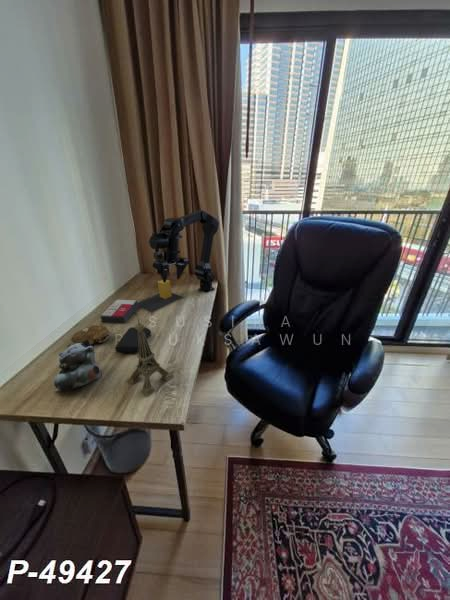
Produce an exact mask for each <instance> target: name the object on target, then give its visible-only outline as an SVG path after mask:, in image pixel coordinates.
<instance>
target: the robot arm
mask: <svg viewBox="0 0 450 600" xmlns="http://www.w3.org/2000/svg"><path fill="white" fill-rule="evenodd" d="M196 222H199V223H200V224H201V230H202V232H203V238H202V246H201V251H200V260H199V262H198V263H197V264H195V266H194V276H195V277H196V279H197V280H198V281H199V288H198V291H201V292H204V293H209V292H211V291H214V290H215V288H214V287H213V282H214V281H215V278H216V276H215V275H214V274H212V267H211V264H210V260H211V254H212V249H213V242H214V236H215V235H216V234H217V233H218V229H219V226H220V221H219V219H218V218H217V217H214V216H212V215H211V214H209V213H208V212H207V211H205V210H202V209H197V210H195V211H192V212H190V213H188V214H185V215H183V216H180V217H168V218H165V219H164V220H163V224H162V225H161V227H160V229H159V231H158V232H152V233H151V235H150V237H149V240H148V244H149V246H150V248H151V249H152V250H161V249H163V251H162V252H160V251H155V252H153V259H154V261H153V262H152V268H154V269H155V270H157V272H159V274H160V276H161V280H163V282H164V283H166V280H168V274H169V266H175V267H176V279H177V280H180V278H181V276H182V274H183V273H184V271H185V269H186V268H187V267H188V265H190V260H189V258H188V257H183V256H179V254H180V253H181V250H179V239H181V238H183V236H182V234H181V232H182V231H183V230H184V229H185V228H186V227H187V226H189V225H192V224H195V223H196Z"/></svg>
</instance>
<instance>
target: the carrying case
mask: <svg viewBox="0 0 450 600" xmlns="http://www.w3.org/2000/svg"><path fill="white" fill-rule="evenodd" d="M135 327H136V326H135ZM135 327H129V328H128V329H127V330H126V332H125V333H124V335H123V336H122V337H121V338H120V340H119V341H118V342H117V343H116V345H115V347H114V350H115V351H116V352H118V353H129V354H130V353H131V354H135V353H139V343H138V330H137V329H135ZM143 331H144V333H145V336H146V339H147V340H148V338H149V337H152V330H151V329H150V328H148V327H145V328H143Z"/></svg>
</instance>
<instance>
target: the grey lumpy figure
mask: <svg viewBox="0 0 450 600" xmlns="http://www.w3.org/2000/svg"><path fill="white" fill-rule="evenodd" d="M95 354H96V352H95V347H94V346H93V345H91V344H90V343H89V341H88V340H85V341H84V342H83V343H69V344H68V345H67V347H66V348H65V349H64V350H61V351H60V353H58V356H59V358H58V368H59V369H60V370H59V372H58V374H57V375H56V376H55V378H54V380H53V386H54V387H55V390H54V391H53V393H59V392H62V391H68V390H74V389H76V388H79V387H83V386H86V385H87V384H89V383H91V382H93V381H96V380H98V379H100V378H102V376H103V374H102V372H101V369H100V367H99V366H98V364H97V362H96V355H95Z"/></svg>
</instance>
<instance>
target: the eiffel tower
mask: <svg viewBox="0 0 450 600" xmlns="http://www.w3.org/2000/svg"><path fill="white" fill-rule="evenodd" d="M136 317H137V324H135V325H134V326H135V329H137V330H138V343H139V351H138V354H136V355H137V356H136V358H137V359H138V363H137V365H135V366H136V369H135V370H134V371H133V372H132V374H131V375H130V377H129V378H128V379H127V382H129V383H130V384H132V385H133V384H135V383H136V382H138V381H139V380H140V376H141V375H142V376H143V377H144V378H145V379H144V383H143V386H142V389H141V393H142V394H143V395H144V396H145V397H148V396H150V395H151V394H152V393H154V392H155V390H154V388H153V387H152V382H151V379H150V378H151V376H152V375H153V374H154V373H156V372H157V373H159V374H160V375H161V378H162V379H163V380H165V381H166V382H168V381H170V380H171V379H172V378H174V377H175V375H174V374H172V373H171V372H169V371H167V370H166V369H165V368H163V367H162V366H161V364H160V363H158V362H157V361H156V358H155V357H154V356H155V355H156V354H155V353H154V352H153V351H152V350H151V347H150V345H149V342H148V338H147V339H146V336H145V333H144V331H143V328H146V326H144V324H143V323H142V322H140V319H139V317H138V315H136Z"/></svg>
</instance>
